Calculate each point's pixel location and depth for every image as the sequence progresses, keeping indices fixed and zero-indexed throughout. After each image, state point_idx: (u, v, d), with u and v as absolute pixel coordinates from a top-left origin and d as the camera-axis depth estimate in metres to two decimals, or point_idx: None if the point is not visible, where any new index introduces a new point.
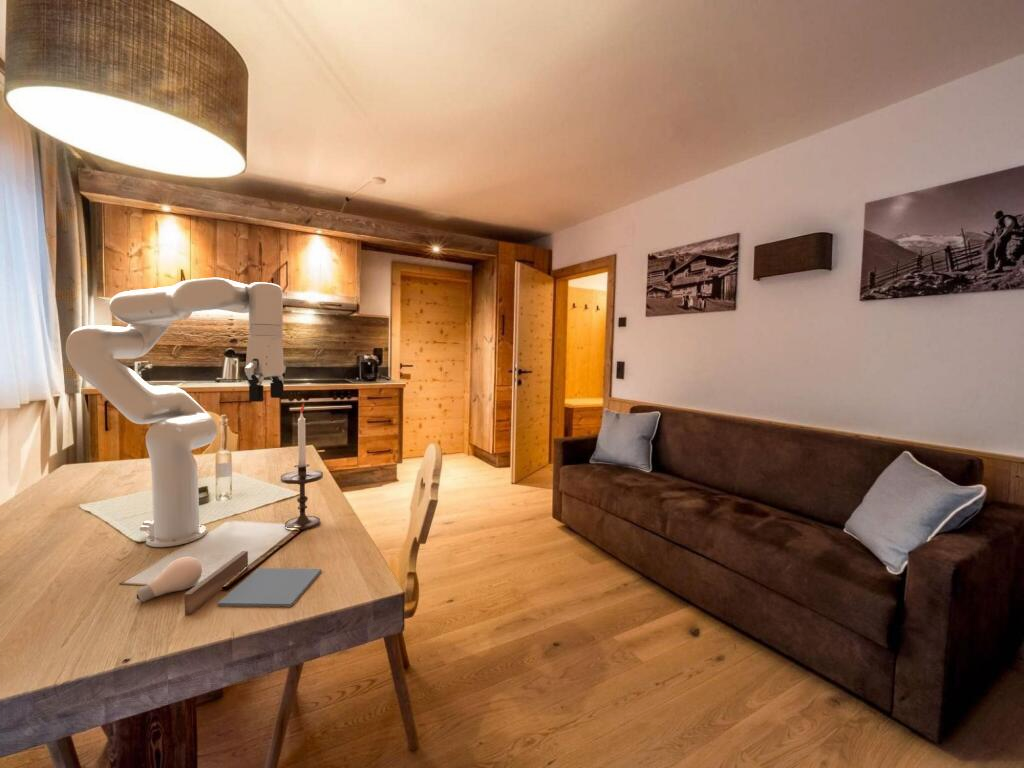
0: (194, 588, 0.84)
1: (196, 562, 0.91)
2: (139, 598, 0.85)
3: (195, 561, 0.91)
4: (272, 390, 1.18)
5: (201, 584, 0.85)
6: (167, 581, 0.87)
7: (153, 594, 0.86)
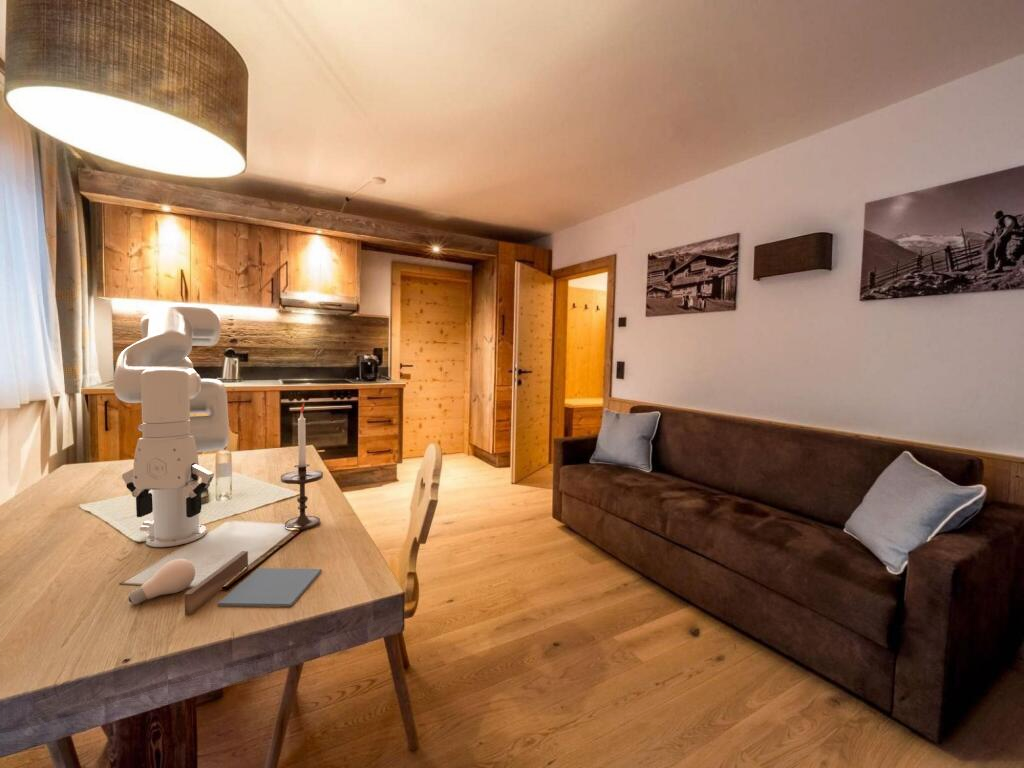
0: (194, 588, 0.84)
1: (189, 564, 0.90)
2: (131, 601, 0.84)
3: (188, 563, 0.90)
4: (142, 506, 0.87)
5: (201, 584, 0.85)
6: (160, 584, 0.86)
7: (145, 597, 0.85)
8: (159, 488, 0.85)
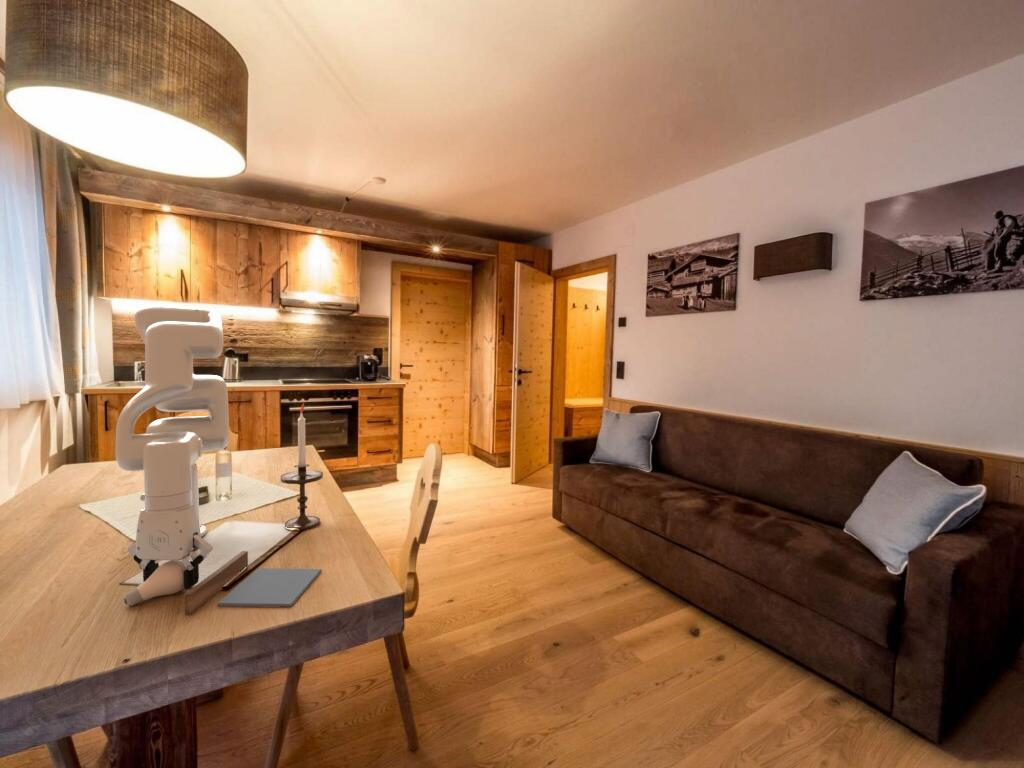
0: (194, 588, 0.84)
1: None
2: (127, 602, 0.84)
3: None
4: None
5: (201, 584, 0.85)
6: (156, 585, 0.86)
7: (141, 598, 0.85)
8: (161, 559, 0.87)
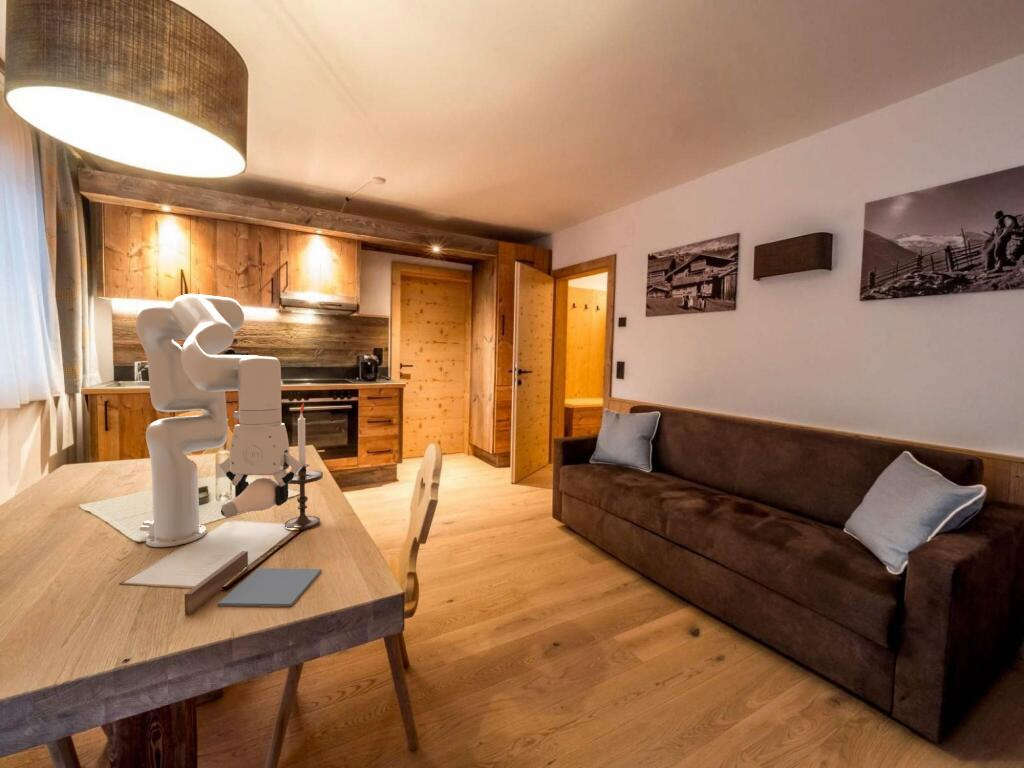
0: (194, 588, 0.84)
1: (275, 483, 0.91)
2: (224, 513, 0.84)
3: (274, 482, 0.91)
4: None
5: (201, 584, 0.85)
6: (250, 498, 0.87)
7: (237, 510, 0.86)
8: (255, 474, 0.87)
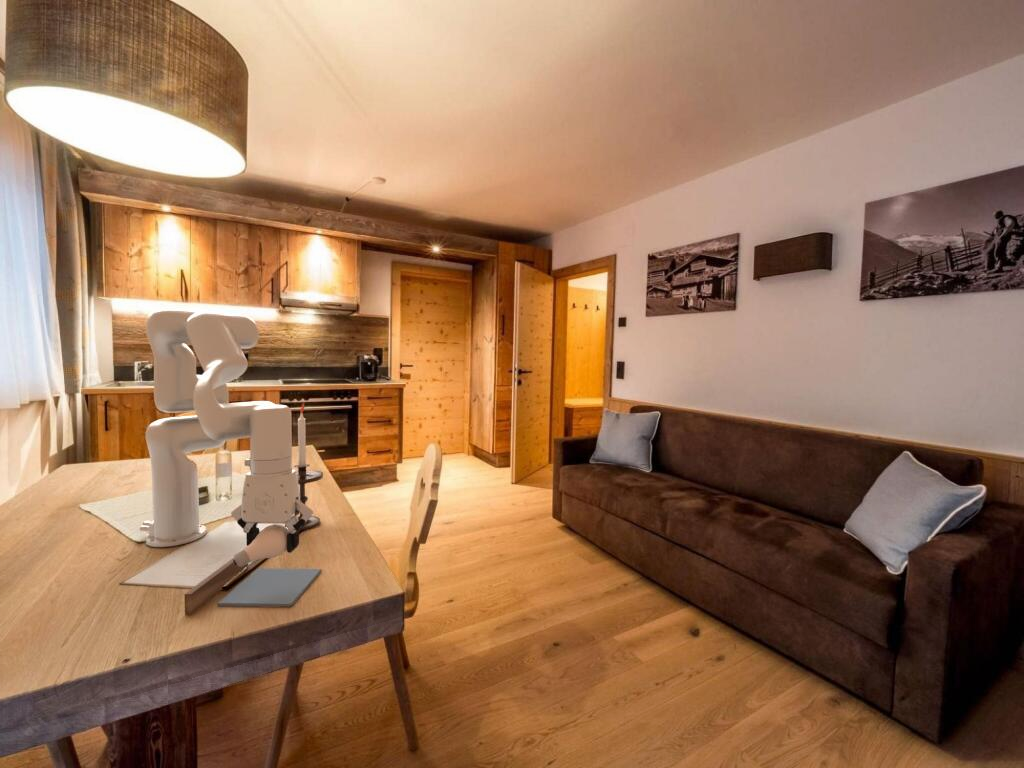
0: (194, 588, 0.84)
1: (286, 529, 0.92)
2: (236, 563, 0.85)
3: (285, 528, 0.92)
4: None
5: (201, 584, 0.85)
6: (262, 547, 0.88)
7: (249, 559, 0.86)
8: (267, 522, 0.88)
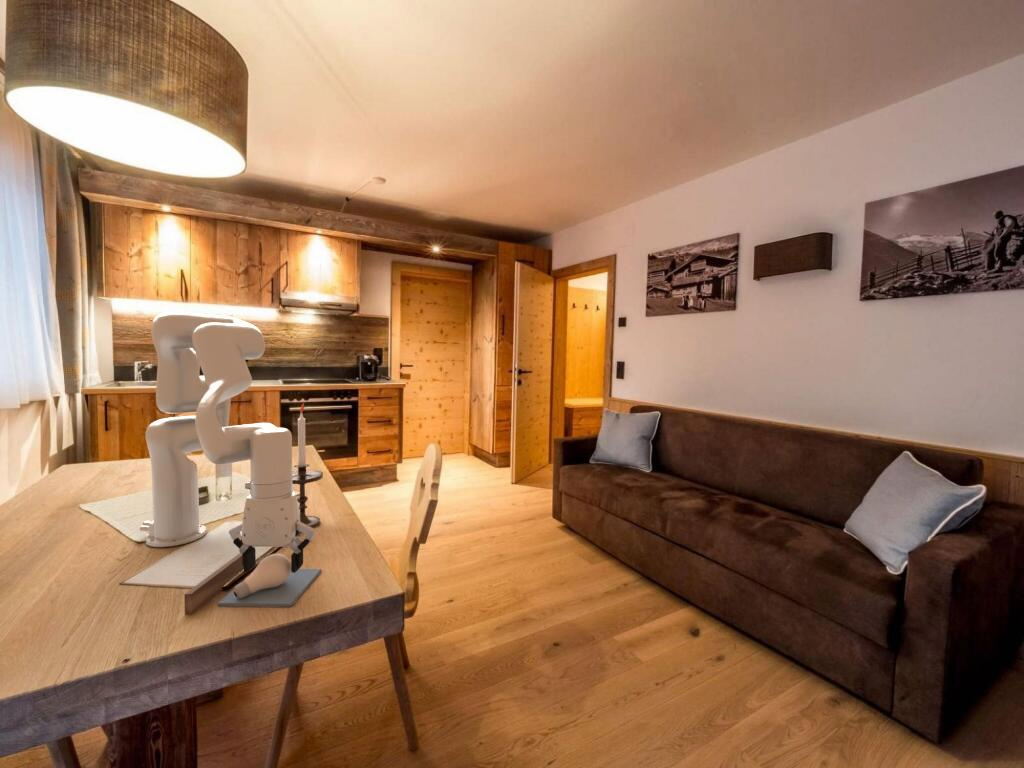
0: (194, 588, 0.84)
1: (286, 559, 0.92)
2: (237, 595, 0.86)
3: (285, 558, 0.92)
4: (248, 561, 0.91)
5: (201, 584, 0.85)
6: (262, 578, 0.88)
7: (249, 591, 0.87)
8: (267, 545, 0.89)
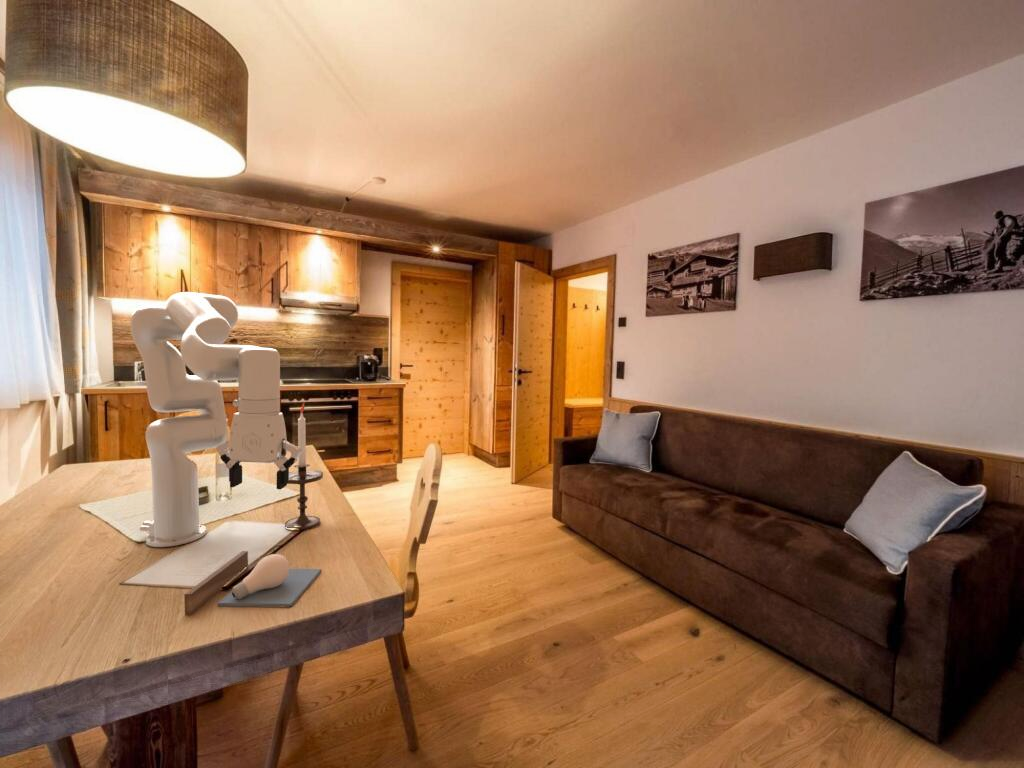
0: (194, 588, 0.84)
1: (285, 559, 0.92)
2: (235, 596, 0.85)
3: (284, 558, 0.92)
4: (235, 477, 0.93)
5: (201, 584, 0.85)
6: (260, 578, 0.88)
7: (248, 591, 0.87)
8: (253, 461, 0.91)
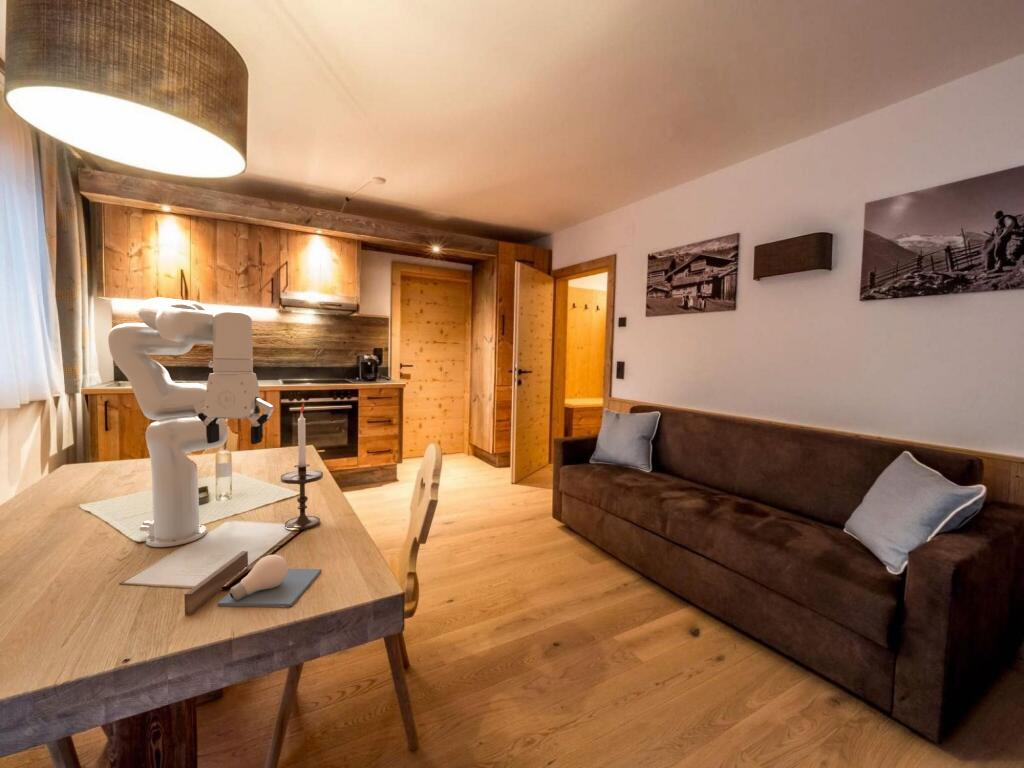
0: (194, 588, 0.84)
1: (283, 560, 0.92)
2: (233, 596, 0.85)
3: (282, 559, 0.92)
4: (212, 434, 0.99)
5: (201, 584, 0.85)
6: (259, 579, 0.87)
7: (246, 592, 0.86)
8: (228, 417, 0.97)
